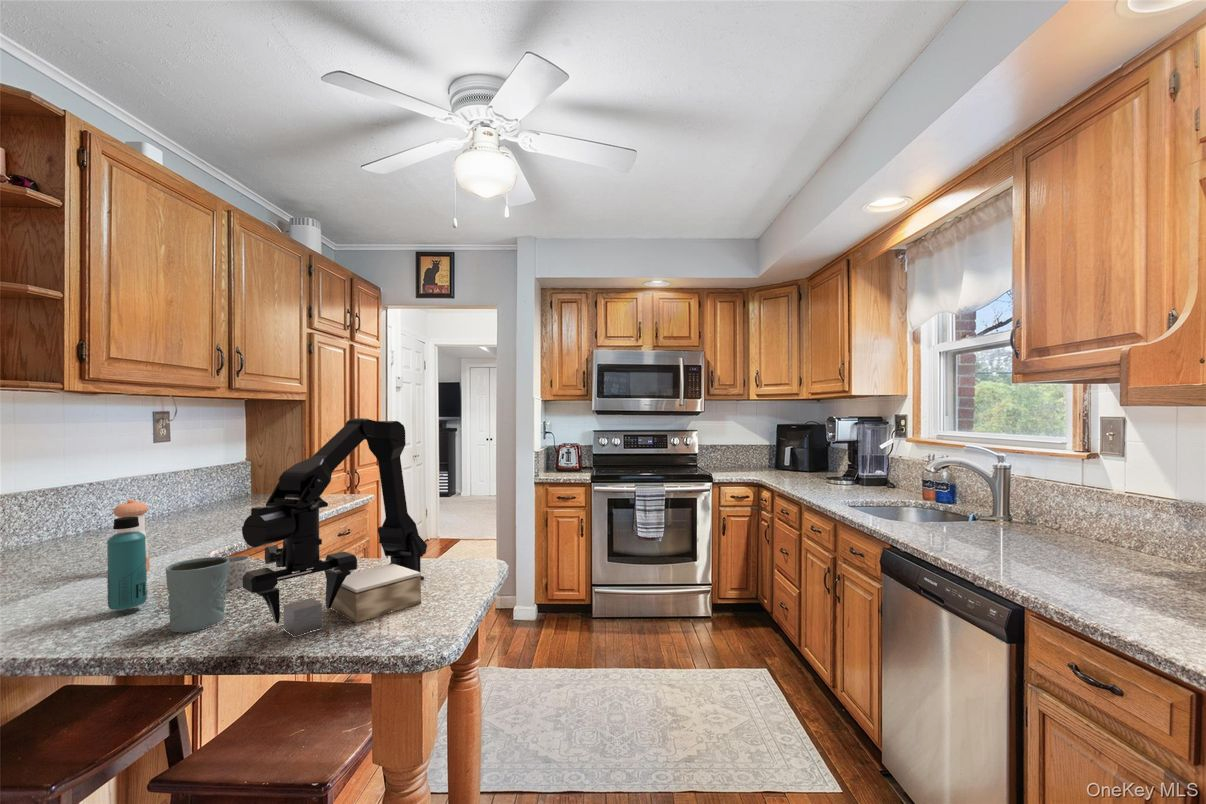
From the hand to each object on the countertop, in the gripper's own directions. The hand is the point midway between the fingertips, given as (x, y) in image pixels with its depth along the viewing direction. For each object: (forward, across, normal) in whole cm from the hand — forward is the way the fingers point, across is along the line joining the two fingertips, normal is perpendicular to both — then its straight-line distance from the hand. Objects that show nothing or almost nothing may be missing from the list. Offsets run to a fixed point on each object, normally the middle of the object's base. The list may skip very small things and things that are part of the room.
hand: (303, 615), depth 104 cm
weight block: (+3, 0, 0) cm, 3 cm away
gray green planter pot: (+3, +12, -20) cm, 24 cm away
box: (+3, -15, -1) cm, 15 cm away
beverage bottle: (+3, +20, -40) cm, 45 cm away
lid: (-3, -15, -1) cm, 15 cm away
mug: (+3, +2, -40) cm, 40 cm away
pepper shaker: (+3, +14, -77) cm, 78 cm away
